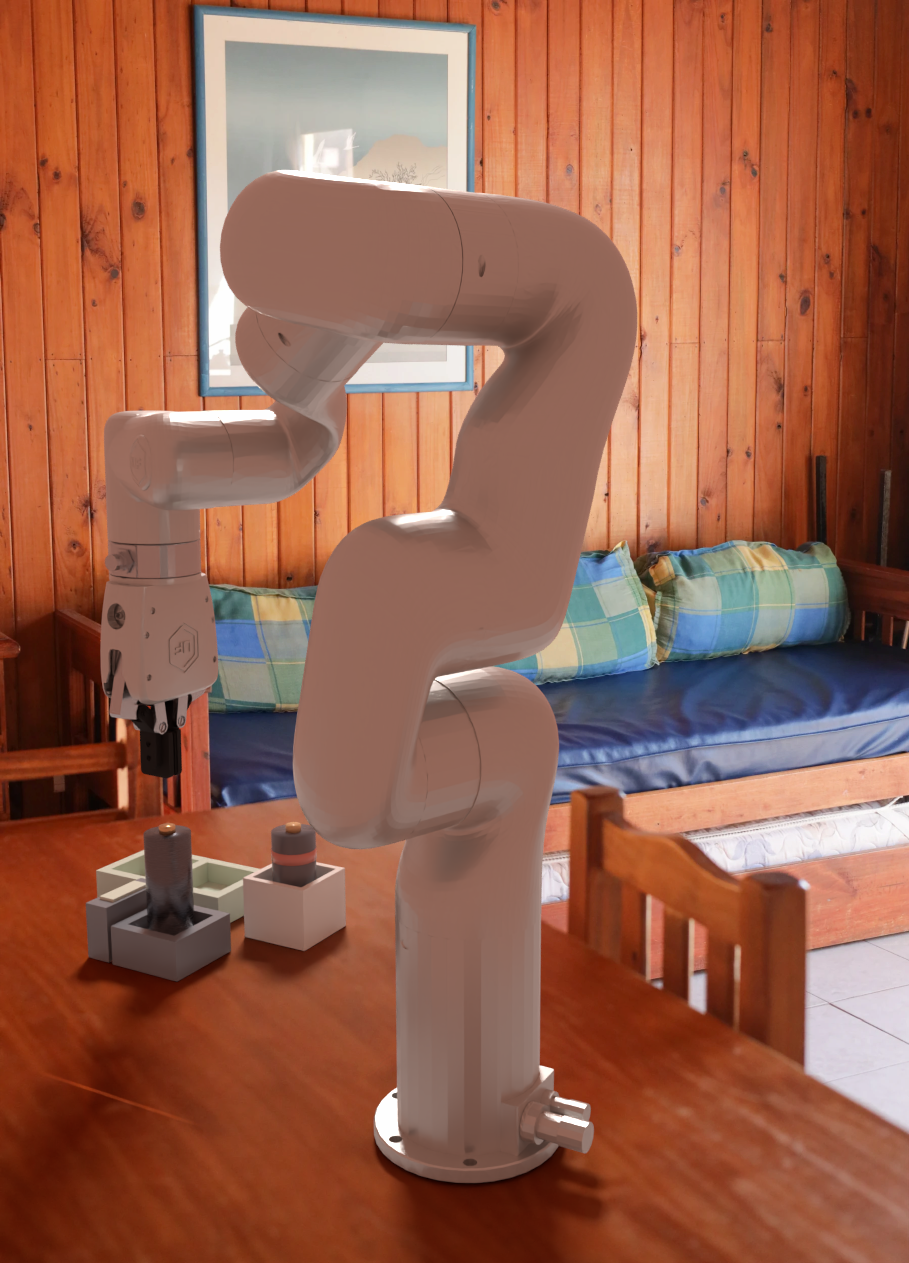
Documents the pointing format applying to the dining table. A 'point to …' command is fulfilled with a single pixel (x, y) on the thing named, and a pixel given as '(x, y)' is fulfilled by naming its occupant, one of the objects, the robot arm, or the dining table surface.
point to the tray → (211, 881)
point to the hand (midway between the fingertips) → (161, 773)
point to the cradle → (152, 935)
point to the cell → (169, 878)
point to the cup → (294, 892)
